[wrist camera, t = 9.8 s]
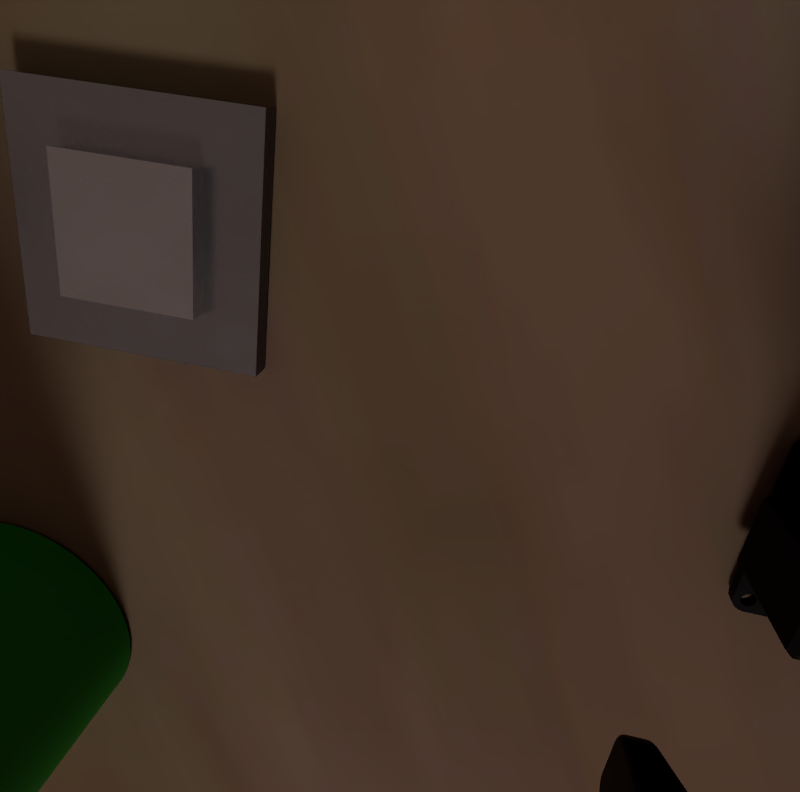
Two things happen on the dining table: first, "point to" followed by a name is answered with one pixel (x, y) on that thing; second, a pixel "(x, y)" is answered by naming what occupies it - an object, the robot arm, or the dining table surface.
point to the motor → (51, 654)
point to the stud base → (143, 218)
